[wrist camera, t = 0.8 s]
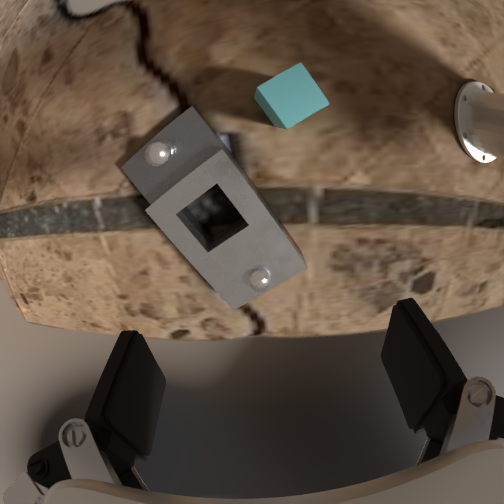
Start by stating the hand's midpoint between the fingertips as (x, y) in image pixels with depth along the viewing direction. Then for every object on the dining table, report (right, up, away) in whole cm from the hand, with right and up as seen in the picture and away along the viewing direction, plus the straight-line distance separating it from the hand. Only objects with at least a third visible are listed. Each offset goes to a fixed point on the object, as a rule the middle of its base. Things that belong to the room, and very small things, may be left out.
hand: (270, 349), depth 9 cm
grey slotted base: (-5, +9, +23) cm, 25 cm away
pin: (+2, +20, +17) cm, 26 cm away
